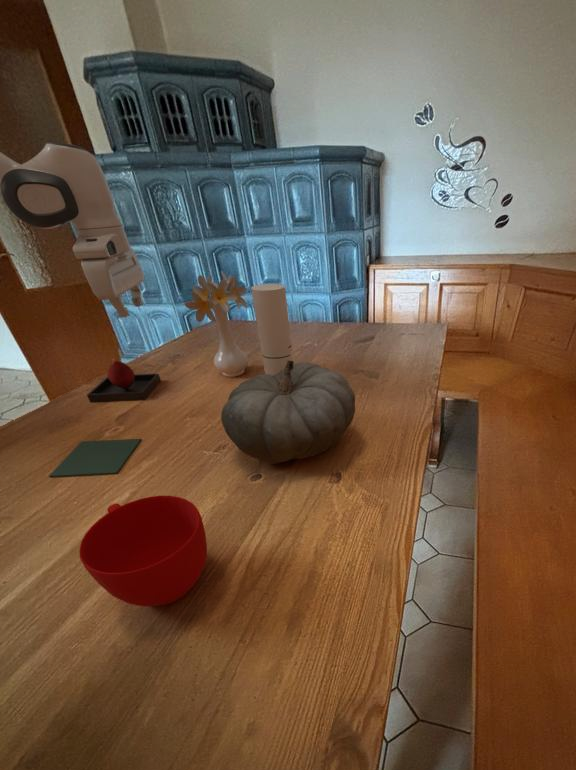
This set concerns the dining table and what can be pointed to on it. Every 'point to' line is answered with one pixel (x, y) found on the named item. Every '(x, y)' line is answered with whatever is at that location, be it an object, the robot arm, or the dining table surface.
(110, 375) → the onion
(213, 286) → the flower vase
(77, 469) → the mat
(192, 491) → the dining table surface
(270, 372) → the cylindrical container
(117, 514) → the ceramic cup
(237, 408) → the gourd
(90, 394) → the tray
